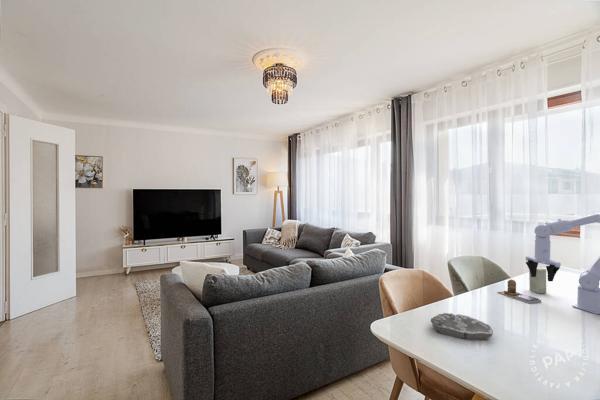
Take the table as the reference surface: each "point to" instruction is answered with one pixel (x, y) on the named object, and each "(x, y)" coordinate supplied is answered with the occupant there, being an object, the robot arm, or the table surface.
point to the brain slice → (461, 327)
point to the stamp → (511, 288)
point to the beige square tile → (508, 295)
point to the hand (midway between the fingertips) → (541, 278)
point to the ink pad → (528, 299)
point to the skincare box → (538, 281)
